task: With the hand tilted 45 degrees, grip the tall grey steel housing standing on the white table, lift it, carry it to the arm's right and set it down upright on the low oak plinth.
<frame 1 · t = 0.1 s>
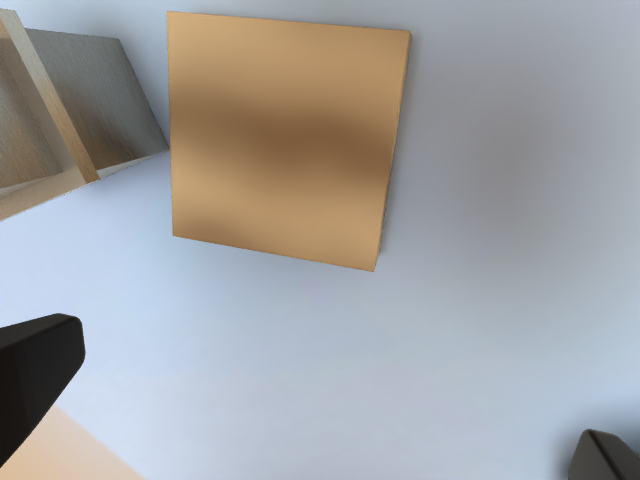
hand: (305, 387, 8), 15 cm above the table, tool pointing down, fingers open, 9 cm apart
stand: (288, 141, 22), on the table
housing: (102, 116, 23), on the table
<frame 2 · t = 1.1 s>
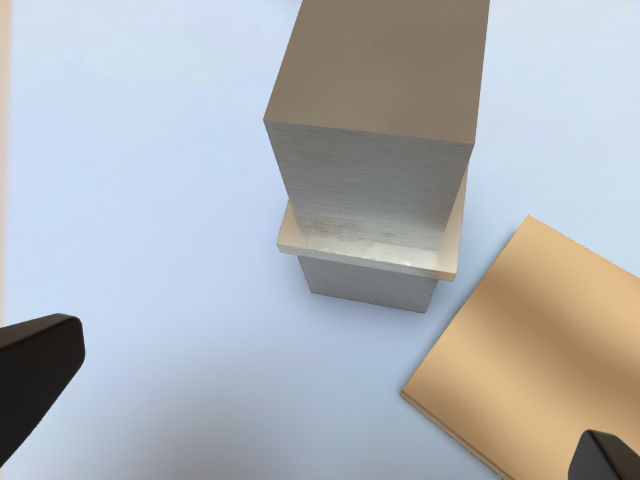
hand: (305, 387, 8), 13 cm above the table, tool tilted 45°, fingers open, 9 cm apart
stand: (560, 377, 20), on the table
housing: (376, 250, 23), on the table
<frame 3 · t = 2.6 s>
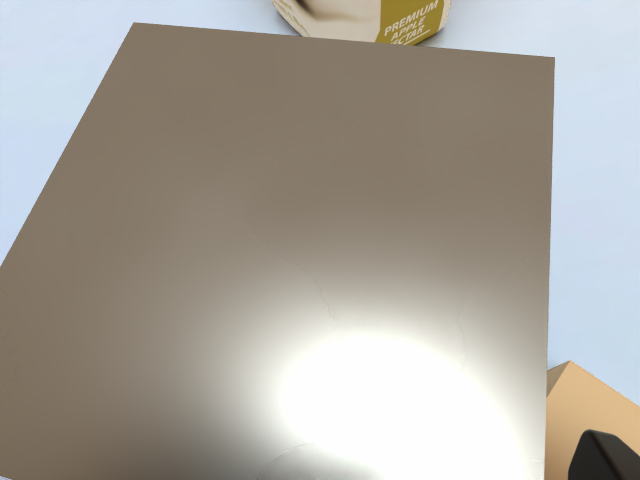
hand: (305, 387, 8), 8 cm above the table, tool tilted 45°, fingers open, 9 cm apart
juice carton: (357, 23, 24), on the table
housing: (342, 392, 16), on the table
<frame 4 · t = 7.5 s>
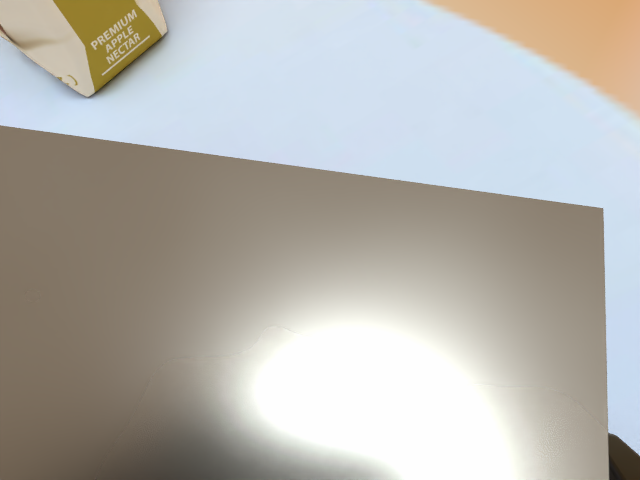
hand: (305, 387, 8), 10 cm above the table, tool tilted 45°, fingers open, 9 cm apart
juice carton: (96, 43, 27), on the table
housing: (326, 463, 14), point 2 cm above the table, touching stand
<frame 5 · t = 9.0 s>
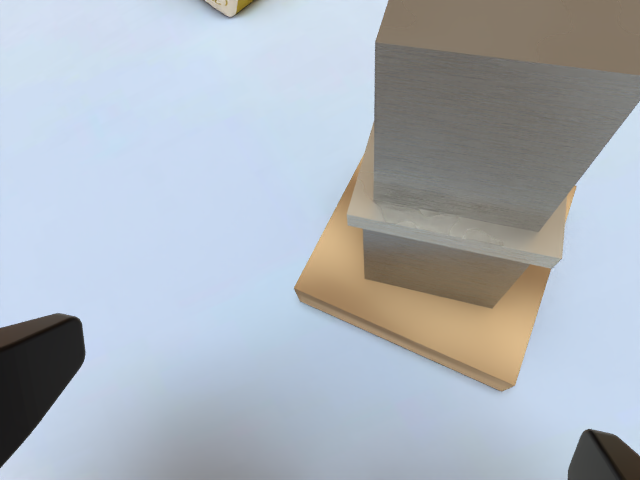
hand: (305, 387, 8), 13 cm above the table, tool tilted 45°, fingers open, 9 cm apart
stand: (432, 253, 23), on the table
housing: (437, 237, 21), point 2 cm above the table, touching stand
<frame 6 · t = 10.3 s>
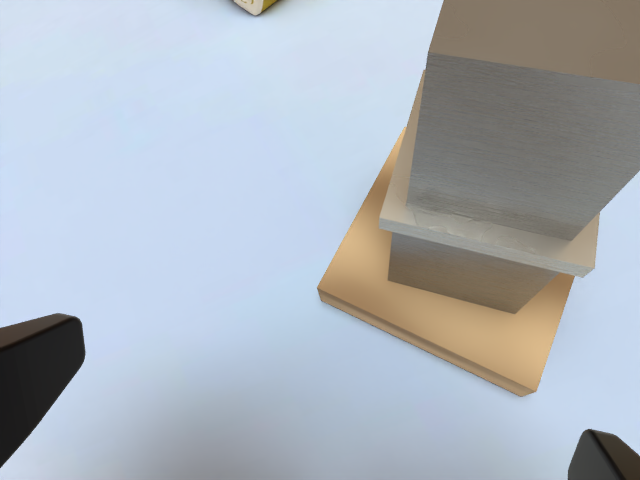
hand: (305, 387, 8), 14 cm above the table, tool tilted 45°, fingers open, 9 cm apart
stand: (454, 256, 23), on the table
housing: (461, 241, 21), point 2 cm above the table, touching stand
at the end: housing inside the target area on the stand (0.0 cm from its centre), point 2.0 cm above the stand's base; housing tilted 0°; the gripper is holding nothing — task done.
